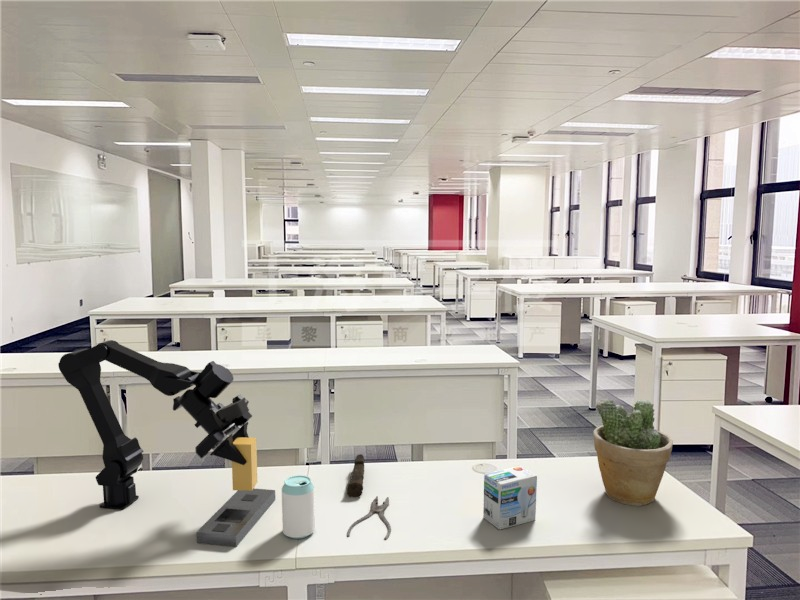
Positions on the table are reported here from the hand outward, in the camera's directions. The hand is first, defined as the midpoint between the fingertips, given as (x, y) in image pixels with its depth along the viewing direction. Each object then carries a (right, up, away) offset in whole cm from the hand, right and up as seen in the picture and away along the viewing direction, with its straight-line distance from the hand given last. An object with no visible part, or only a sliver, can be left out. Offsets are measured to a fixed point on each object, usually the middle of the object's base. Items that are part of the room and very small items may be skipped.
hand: (250, 459), depth 138 cm
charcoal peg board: (-2, -14, -1) cm, 14 cm away
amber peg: (-1, -7, +1) cm, 7 cm away
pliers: (+28, -14, 0) cm, 31 cm away
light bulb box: (+60, -14, 0) cm, 62 cm away
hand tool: (+23, -12, +20) cm, 33 cm away
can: (+13, -15, -7) cm, 20 cm away
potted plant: (+93, -12, +11) cm, 94 cm away
